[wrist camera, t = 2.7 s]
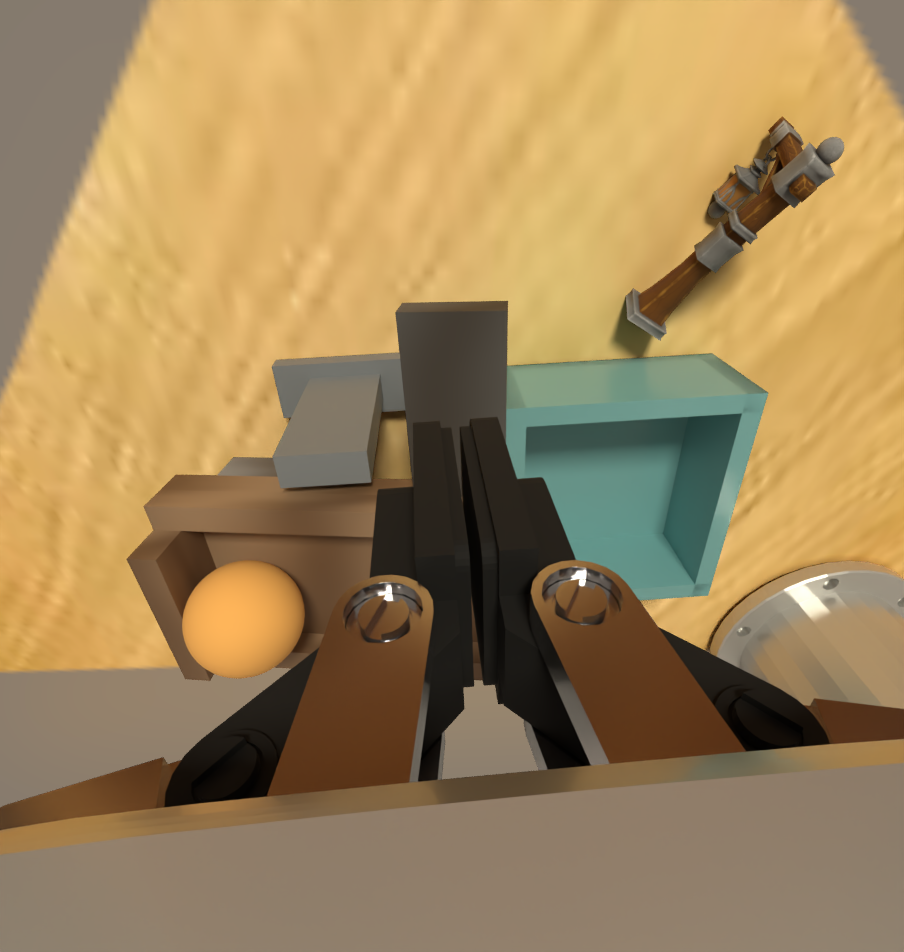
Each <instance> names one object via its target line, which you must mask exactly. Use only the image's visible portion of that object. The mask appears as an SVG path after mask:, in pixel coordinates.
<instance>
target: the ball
mask: <svg viewBox="0 0 904 952" xmlns="http://www.w3.org/2000/svg"><path fill="white" fill-rule="evenodd" d="M304 618H305V609H304V602H303V598H302V595H301V592H300V590H299V588H298V587H297V585H296V583H295V582H294V581H293V579H292V578H291V577H290V576H289V575H288V574H287V573H285V572H284V571H283V570H281V569H280V568H278V567H276V566H274V565H272V564H269V563H266V562H262V561H256V560H243V561H237V562H232V563H229V564H226V565H224V566H221V567H219V568H217V569H215V570H214V571H213V572H211V573H210V574H208V575H207V576H206V577H205V578H204V579H202V580H201V581H200V582H199V584H198V585H197V586H196V587H195V589H194V590H193V591H192V593H191V595H190V597H189V598H188V601H187V603H186V606H185V609H184V613H183V620H182V631H183V636H184V641H185V644H186V646H187V648H188V650H189V652H190V654H191V655H192V657H193V658H194V659H195V660H196V661H197V662H198V663H199V664H200V665H201V666H202V667H203V668H205V669H206V670H208V671H210V672H212V673H214V674H216V675H219V676H223V677H228V678H247V677H253V676H257V675H260V674H262V673H265V672H267V671H268V670H270V669H272V668H274V667H276V666H277V665H278V664H279V663H281V662H282V661H283V660H284V659H285V658H286V657H287V656H288V655H289V654H290V653H291V651H292V650H293V649H294V647H295V646H296V644H297V642H298V640H299V638H300V636H301V633H302V630H303V626H304Z"/></svg>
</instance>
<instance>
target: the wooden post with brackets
mask: <svg viewBox="0 0 904 952" xmlns="http://www.w3.org/2000/svg"><path fill="white" fill-rule="evenodd" d="M768 131H769V133H770V137H771V138H770V139H769V141H770V144H771V146H772V147H771V148H770V149H769V150H768V152H767V153H766V157H765V158H764V159H763V160H761V159H755V158H754V163H755V165H756V166H752V165H750V168H744V167H740V166H738V165H735V166H734V168H735V171H736V173H735V174H734V175H733V176H732V177H731V178H730V179H729V180H728V181H727V182H726V183H724V184H723V185H722V186H721V187H720V188H718V189H717V190H716V191H714V193H713V195H714V198H715V201H714V202H713V203H711V205H710V206H709V209H708V214H709V216H710V217H711V218H719V217H721V216H722V215H723V214H724V213H725V210H726V211H727V212H728V213H729V214H727V216H728V221H727V222H726V223H725V224H723V223H722V222H719V224H718V225H717V226H716V228H715V229H714V230H713V231H712V232H711V233H710V234H709V235H707V236H706V237H705V238H704V239H703V240H702V241H701V242H699V243H698V244H696V245H694V247H695V251H694V252H693V253H692V254H691V255H690V256H689V257H688V258H687V259H686V260H685V261H684V262H683V263H681V264H680V265H679V266H678V267H676V268H675V269H674V270H672V271H671V272H670V273H669V274H667V275H666V276H665V277H664V278H662V279H661V280H660V281H658V282H657V283H656V284H655V285H653V286H652V287H650V288H649V289H647V290H646V291H644V292H642V293H639V292H638V291H636V290H635V289H633V290H632V291H631V292H630V293H629V294H628V295H626V304H627V319H628V320H629V321H631V322H632V323H634V324H635V325H637V326H639V327H640V328H642V329H643V330H645V331H646V332H648V333H649V334H651V335H652V336H654V337H655V338H657V339H658V340H660V341H661V338H662V337H663V335H664V334H667V333H666V326H665V321H666V319H667V318H668V317H669V315H670V314H671V313H672V311H673V310H674V309H675V308H676V307H677V306H678V305H679V304H680V303H681V301H682V300H683V299H684V298H685V297H686V296H687V295H688V294H689V293H690V291H691V290H692V289H693V288H694V287H695V286H696V285H697V284H698V283H699V282H700V281H701V280H702V279H703V278H704V277H705V276H706V275H707V274H708V273H709V272H711V271H713V272H715V273H716V272H717V271H718V270H719V268H720V267H721V266H722V265H723V264H725V263H726V262H727V261H728V260H729V259H731V258H732V257H733V256H734V255H736V254H738V253H739V252H741V251H743V247H742V245H743V244H744V243H745V242H746V241H747V242H748V243H750V244H751V243H752V242H753V241H754V240H755V239H757V235H756V233H757V232H758V231H759V230H760V229H761V228H762V227H764V226H765V225H766V224H767V223H768V222H770V221H771V220H772V219H773V218H774V217H776V216H777V215H778V214H779V213H780V212H782V211H783V210H784V209H785V208H786V207H788V206H789V205H791V206H792V207H793V208H795V207H796V206H797V205H798V204H799V202H800V201H801V202H803V201H804V200H805V199H806V198H807V197H808V196H810V195H811V194H812V193H813V192H814V191H815V190H816V189H817V187H818V186H820V185H821V184H822V183H823V182H825V181H826V180H828V179H829V178H831V177H833V176H834V175H835V174H834V172H833V170H832V168H831V166H830V164H831V163H833V162H835V161H836V160H838V159H839V157H840V156H841V155H842V153H843V150H844V143H843V141H842V140H841V139H840V138H837V137H831V138H828V139H826V140H824V141H823V142H822V143H821V144H820V145H819V146H818V148H817V149H816V148H815V147H814V146H813V145H812V144H810V143H809V144H808V145H807V146H806V147H805V149H804V150H802V147H801V146H802V145H803V144H804V143H803V141H802V139H801V137H800V135H799V134H798V133H797V132H796V131H795V130H794V127H793V126H792V125H791V124H790V123H789V122H788V121H787V120H785V119H784V118H783V117H781V118H780V119H779V120H778V121H777V122H776V123H775V124H774V125H773V126H772V127H771V128H770V129H769V130H768ZM772 149H774V150H775V151H776V152H777V153H776V157H775V158H773V159H771V158H772V157H771V156H770V155H768V154H769V153H770V151H771V150H772ZM765 160H767V162H766V163H765V162H764V161H765ZM774 160H776V161H775V163H774V166H773V168H772V170H771V172H770V174H769V176H768V178H767V180H766V182H765V184H764V187H763V189H762V191H761V193H760V190H759V186H758V178H761V174H760V172H762V173H764V174H766V175H768V171H767V165H768V164H769V163H770V161H774ZM754 192H755V193H756V194H757V195H758V196H757V197H755V198H754V199H753V200H752V201H751V202H749V203H748V204H747V205H746V206H745V207H744V208H742V209H741V210H740V211H739V212H738V211H736V210H737V208H738V207H739V206H740V205H741V204H742V203H743V202H744V201H745V200H746V199H747V198H748V197H749V196H750V195H751V194H752V193H754Z"/></svg>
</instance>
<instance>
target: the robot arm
mask: <svg viewBox="0 0 904 952" xmlns="http://www.w3.org/2000/svg"><path fill="white" fill-rule="evenodd" d="M460 455H461V480H462V497H461V490H460V483H459V476H458V469H457V463H456V456H455V449H454V442H453V435H452V429H451V427H447V428H441V425H440V421H431V422H416V423H413V469H414V486H413V487H400V488H386V489H378V491H377V499H376V511H375V522H374V533H373V544H372V556H371V567H370V578H369V579H366V580H362V581H361V582H359V583H357V584H355V585H354V586H352V587H350V588H349V589H348V590H347V591H346V592H345V593H344V594H343V595H342V596H341V597H340V598H339V599H338V601H337V603H336V605H335V607H334V608H333V611H332V613H331V616H330V619H329V622H328V625H327V628H326V630H325V633H324V636H323V639H322V642H321V644H320V647H319V648H318V649H316V650H315V651H314V652H312V653H311V654H310V655H309V656H307V657H306V658H305V659H304V660H302V661H301V662H300V663H298V664H297V665H296V666H295V667H293V668H292V669H291V670H289V671H288V672H287V673H286V674H285V675H283V676H282V677H281V678H279V679H278V680H277V681H275V682H274V683H273V684H272V685H271V686H269V687H268V688H267V689H265V690H264V691H263V692H261V693H260V694H259V695H258V696H256V697H255V698H254V699H252V700H251V701H250V702H249V703H247V704H246V705H245V706H243V707H242V708H241V709H240V710H238V711H237V712H236V713H235V714H233V715H232V716H231V717H229V718H228V719H227V720H226V721H225V722H223V723H222V724H221V725H219V726H218V727H217V728H215V729H214V730H213V731H212V732H210V733H209V734H208V735H206V736H205V737H204V738H203V739H201V740H200V741H199V742H198V743H197V744H196V745H195V746H194V747H193V748H192V749H191V750H190V751H189V752H188V753H187V754H186V755H185V756H184V757H183V759H182V760H180V761H176V762H173V763H170V764H167V762H166V761H165V759H164V757H162V758H159V759H155V760H152V761H148V762H145V763H142V764H139V765H135V766H132V767H129V768H125V769H122V770H119V771H115V772H112V773H109V774H106V775H103V776H99V777H96V778H92V779H89V780H86V781H83V782H79V783H76V784H73V785H69V786H66V787H63V788H59V789H56V790H53V791H50V792H47V793H43V794H40V795H37V796H33V797H30V798H26V799H23V800H20V801H17V802H14V803H10V804H7V805H4V806H2V807H0V952H904V579H903V578H902V577H901V576H900V575H899V574H897V573H896V572H894V571H892V570H891V569H889V568H887V567H885V566H882V565H878V564H874V563H870V562H861V561H841V562H830V563H824V564H819V565H815V566H811V567H806V568H803V569H800V570H798V571H795V572H792V573H789V574H786V575H784V576H782V577H780V578H778V579H776V580H774V581H772V582H770V583H768V584H766V585H764V586H763V587H761V588H760V589H758V590H757V591H755V592H754V593H752V594H750V595H749V596H748V597H747V598H745V599H744V600H743V601H742V602H741V603H739V604H738V605H737V606H736V607H735V608H734V609H733V610H732V611H731V612H730V613H729V615H728V616H727V617H726V618H725V619H724V620H723V622H722V623H721V625H720V627H719V628H718V630H717V631H716V633H715V635H714V638H713V641H712V644H711V646H710V653H709V652H707V651H705V650H703V649H701V648H699V647H697V646H695V645H693V644H691V643H689V642H687V641H685V640H683V639H681V638H679V637H677V636H675V635H673V634H671V633H669V632H667V631H665V630H663V629H661V628H659V627H658V626H657V625H656V623H655V622H654V621H653V619H652V618H651V616H650V615H649V613H648V612H647V611H646V609H645V608H644V606H643V605H642V604H641V602H640V601H639V599H638V598H637V597H636V595H635V594H634V592H633V591H632V589H631V588H630V587H629V585H628V584H627V583H626V582H625V581H624V580H623V579H622V578H621V577H620V576H619V575H618V574H616V573H615V572H613V571H612V570H610V569H608V568H607V567H604V566H601V565H599V564H596V563H593V562H587V561H580V560H576V558H575V556H574V553H573V551H572V548H571V546H570V543H569V541H568V538H567V535H566V533H565V530H564V528H563V525H562V523H561V520H560V518H559V515H558V513H557V510H556V508H555V505H554V503H553V500H552V498H551V495H550V492H549V490H548V487H547V485H546V482H545V481H544V479H543V478H542V477H535V478H521V479H517V477H516V474H515V470H514V467H513V464H512V461H511V458H510V455H509V451H508V448H507V445H506V442H505V439H504V436H503V433H502V429H501V426H500V423H499V420H498V417H488V418H474V419H470V422H469V426H461V427H460ZM471 597H472V604H473V612H474V619H475V627H476V634H477V641H478V649H479V656H480V663H481V671H482V678H483V684H484V685H495V687H496V693H497V700H498V704H504V706H506V707H507V708H509V709H510V710H511V711H513V712H514V713H515V714H517V715H518V716H520V717H521V718H522V719H524V727H525V732H526V736H527V739H528V742H529V745H530V747H531V750H532V753H533V756H534V759H535V761H536V764H537V767H538V771H528V772H517V773H506V774H496V775H485V776H475V777H464V778H454V779H443V780H442V770H443V759H444V749H445V734H444V731H445V730H446V728H447V727H448V726H449V725H450V724H451V723H452V722H453V721H454V720H455V719H456V717H457V716H458V715H459V714H460V713H461V712H462V711H463V710H464V694H463V687H472V686H474V668H473V637H472V605H471Z"/></svg>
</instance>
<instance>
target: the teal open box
mask: <svg viewBox="0 0 904 952" xmlns="http://www.w3.org/2000/svg"><path fill="white" fill-rule="evenodd" d="M767 396H768V392H766V391H765V390H764V389H762V388H761V387H759V386H758V385H756V384H755V383H754V382H752V381H751V380H749V379H748V378H746V377H745V376H744V375H742V374H741V373H739V372H738V371H737V370H735V369H734V368H732V367H731V366H729V365H728V364H727V363H725V362H724V361H722V360H721V359H719V358H718V357H717V356H715V355H714V354H695V355H679V356H662V357H646V358H629V359H613V360H596V361H580V362H563V363H547V364H530V365H513V366H507V402H506V445H507V448H508V451H509V455H510V458H511V461H512V464H513V467H514V470H515V474H516V477H517V479H521V478H535V477H542V478H543V479H544V481H545V482H546V485H547V487H548V490H549V492H550V495H551V498H552V500H553V503H554V505H555V508H556V510H557V513H558V515H559V518H560V520H561V523H562V525H563V528H564V530H565V533H566V535H567V538H568V541H569V543H570V546H571V548H572V551H573V553H574V556H575V558H576V560H580V561H587V562H593V563H596V564H599V565H601V566H604V567H607V568H608V569H610V570H612V571H613V572H615V573H616V574H618V575H619V576H620V577H621V578H622V579H623V580H624V581H625V582H626V583H627V584H628V585H629V587H630V588H631V589H632V591H633V592H634V594H635V595H636V597H637V598H638V599H639V600H651V599H666V598H680V597H694V596H708V594H709V591H710V587H711V584H712V580H713V577H714V574H715V570H716V567H717V564H718V560H719V557H720V554H721V550H722V547H723V543H724V540H725V537H726V533H727V530H728V527H729V523H730V520H731V517H732V513H733V510H734V506H735V503H736V500H737V496H738V493H739V490H740V486H741V483H742V480H743V476H744V473H745V469H746V466H747V463H748V459H749V456H750V453H751V449H752V446H753V443H754V439H755V436H756V433H757V429H758V426H759V422H760V419H761V416H762V412H763V409H764V406H765V402H766V399H767Z"/></svg>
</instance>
